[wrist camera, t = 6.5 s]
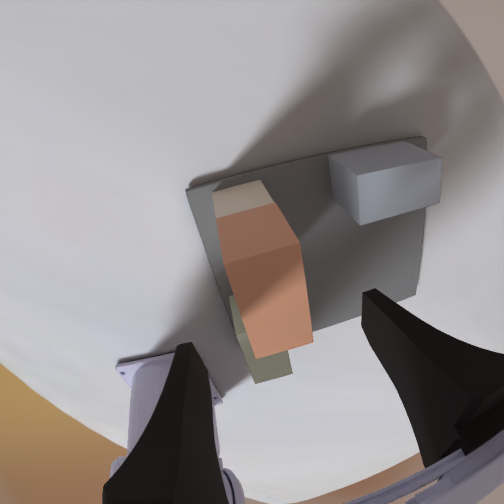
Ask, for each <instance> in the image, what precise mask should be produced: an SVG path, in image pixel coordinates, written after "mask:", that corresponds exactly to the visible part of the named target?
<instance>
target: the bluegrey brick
mask: <svg viewBox="0 0 504 504" xmlns="http://www.w3.org/2000/svg"><path fill="white" fill-rule="evenodd" d="M328 160H329V168H330V176H331V185H332V194H333V199H334V200H335V201H336V202H337V203H338V204H339V205H340V206H341V207H342V208H343V209H344V210H345V211H346V212H347V213H348V214H349V215H350V216H351V217H352V218H353V219H354V220H355V221H356V222H357V223H358V224H359V225H364V224H367V223H371V222H374V221H378V220H381V219H385V218H388V217H392V216H396V215H399V214H403V213H406V212H410V211H413V210H417V209H420V208H424V207H427V206H431V205H434V204H438V203H440V194H441V173H442V158H441V157H439V156H437V155H434V154H432V153H430V152H428V151H426V150H424V149H422V148H419V147H417V146H415V145H413V144H410V143H408V142H406V141H404V142H398V143H392V144H386V145H380V146H375V147H369V148H364V149H359V150H353V151H348V152H343V153H338V154H334V155H329V156H328Z"/></svg>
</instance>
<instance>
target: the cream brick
mask: <svg viewBox="0 0 504 504" xmlns="http://www.w3.org/2000/svg"><path fill="white" fill-rule="evenodd" d="M212 197H213V203H214V210H215V216H216V218H220V217H223V216H227V215H231V214H234V213H238V212H241V211H245V210H249V209H252V208H256V207H260V206H263V205H267V204H271V203H274V201H273V200H272V198H271V197H270V195H269V193H268V192H267V190H266V188H265V187H264V185H263V183H262V182H261V180H256V181H252V182H248V183H245V184H241V185H237V186H233V187H230V188H226V189H222V190H219V191H215V192H212Z"/></svg>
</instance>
